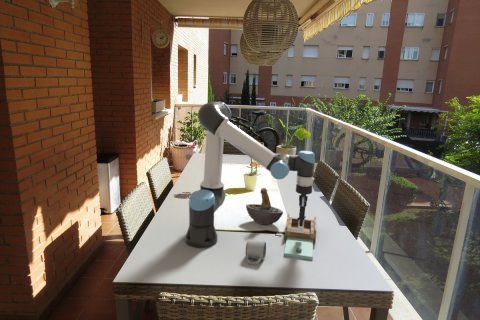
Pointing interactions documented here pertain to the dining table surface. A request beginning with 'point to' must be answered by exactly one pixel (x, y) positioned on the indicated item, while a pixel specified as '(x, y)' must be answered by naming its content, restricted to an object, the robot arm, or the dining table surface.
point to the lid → (299, 248)
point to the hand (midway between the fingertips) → (300, 231)
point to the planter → (264, 210)
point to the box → (292, 232)
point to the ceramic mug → (255, 251)
